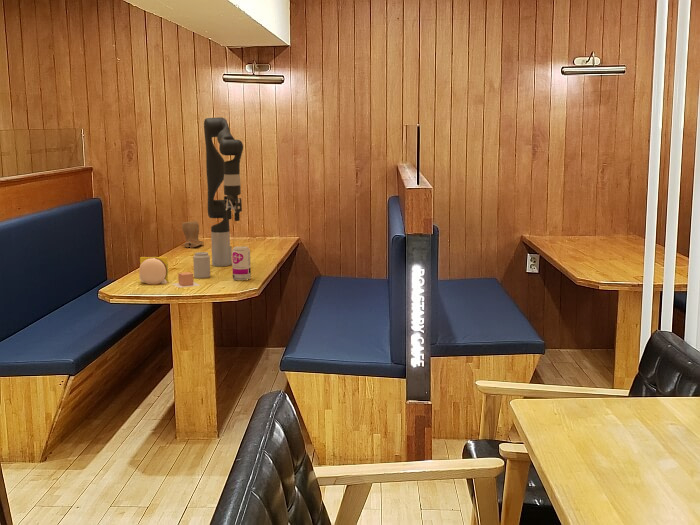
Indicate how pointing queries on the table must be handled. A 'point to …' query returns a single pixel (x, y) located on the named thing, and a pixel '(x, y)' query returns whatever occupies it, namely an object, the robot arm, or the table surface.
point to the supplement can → (241, 263)
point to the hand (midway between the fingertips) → (233, 219)
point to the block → (185, 279)
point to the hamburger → (153, 270)
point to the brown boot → (191, 234)
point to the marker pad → (185, 286)
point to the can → (201, 265)
